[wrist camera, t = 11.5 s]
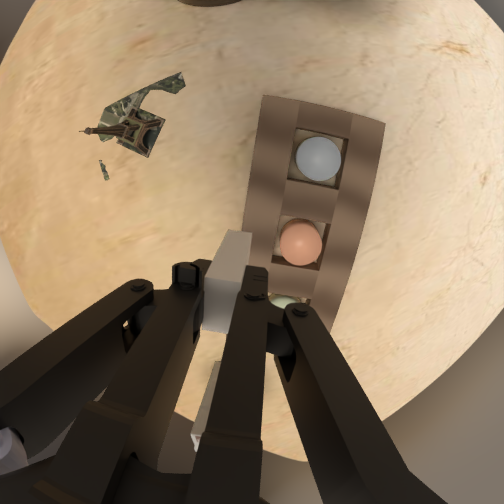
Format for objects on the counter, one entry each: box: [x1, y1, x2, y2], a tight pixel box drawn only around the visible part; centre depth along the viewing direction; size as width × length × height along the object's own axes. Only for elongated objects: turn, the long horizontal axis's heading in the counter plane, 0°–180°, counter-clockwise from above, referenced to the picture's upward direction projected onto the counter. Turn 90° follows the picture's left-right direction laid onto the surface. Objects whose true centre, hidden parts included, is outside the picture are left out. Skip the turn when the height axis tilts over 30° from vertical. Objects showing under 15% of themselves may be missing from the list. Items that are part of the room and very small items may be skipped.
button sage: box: [269, 293, 300, 308], centre depth 37 cm, size 5×5×3 cm
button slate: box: [295, 137, 341, 181], centre depth 30 cm, size 5×5×3 cm
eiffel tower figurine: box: [79, 72, 186, 181], centre depth 26 cm, size 15×10×13 cm
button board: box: [226, 95, 386, 339], centre depth 34 cm, size 32×14×2 cm, turn 171°
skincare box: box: [191, 361, 221, 452], centre depth 38 cm, size 8×7×16 cm
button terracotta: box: [280, 219, 322, 265], centre depth 34 cm, size 5×5×3 cm
